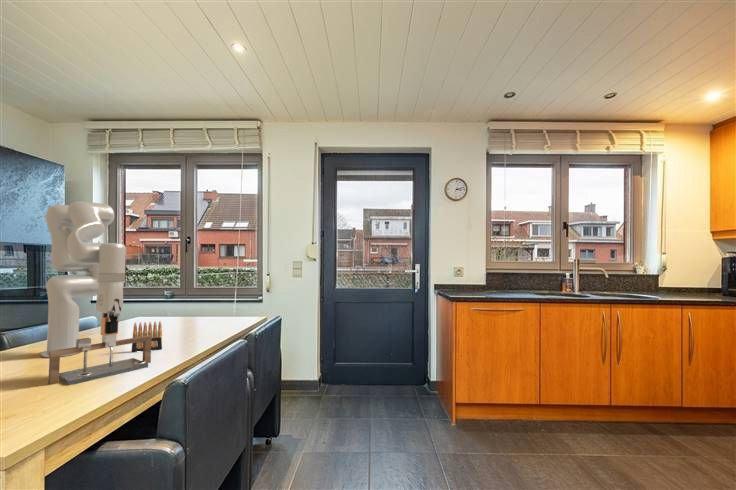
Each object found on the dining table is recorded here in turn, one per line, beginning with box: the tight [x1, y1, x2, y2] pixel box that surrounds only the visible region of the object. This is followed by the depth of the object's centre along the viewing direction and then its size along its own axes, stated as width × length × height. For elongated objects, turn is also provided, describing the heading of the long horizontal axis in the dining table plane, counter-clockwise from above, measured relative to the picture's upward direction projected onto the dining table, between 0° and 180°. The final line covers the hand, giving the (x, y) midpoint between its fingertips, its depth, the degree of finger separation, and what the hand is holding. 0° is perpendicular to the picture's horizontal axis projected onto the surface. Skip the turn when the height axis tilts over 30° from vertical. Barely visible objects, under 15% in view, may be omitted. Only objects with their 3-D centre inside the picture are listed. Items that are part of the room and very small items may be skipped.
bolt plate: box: [59, 357, 149, 386], centre depth 116 cm, size 12×23×1 cm, turn 145°
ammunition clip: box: [131, 320, 163, 353], centre depth 144 cm, size 11×2×12 cm, turn 116°
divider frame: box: [48, 334, 152, 385], centre depth 116 cm, size 4×28×12 cm, turn 145°
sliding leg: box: [100, 315, 120, 367], centre depth 117 cm, size 5×4×16 cm
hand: (109, 332), depth 117 cm, fingers closed on sliding leg, 3 cm apart
